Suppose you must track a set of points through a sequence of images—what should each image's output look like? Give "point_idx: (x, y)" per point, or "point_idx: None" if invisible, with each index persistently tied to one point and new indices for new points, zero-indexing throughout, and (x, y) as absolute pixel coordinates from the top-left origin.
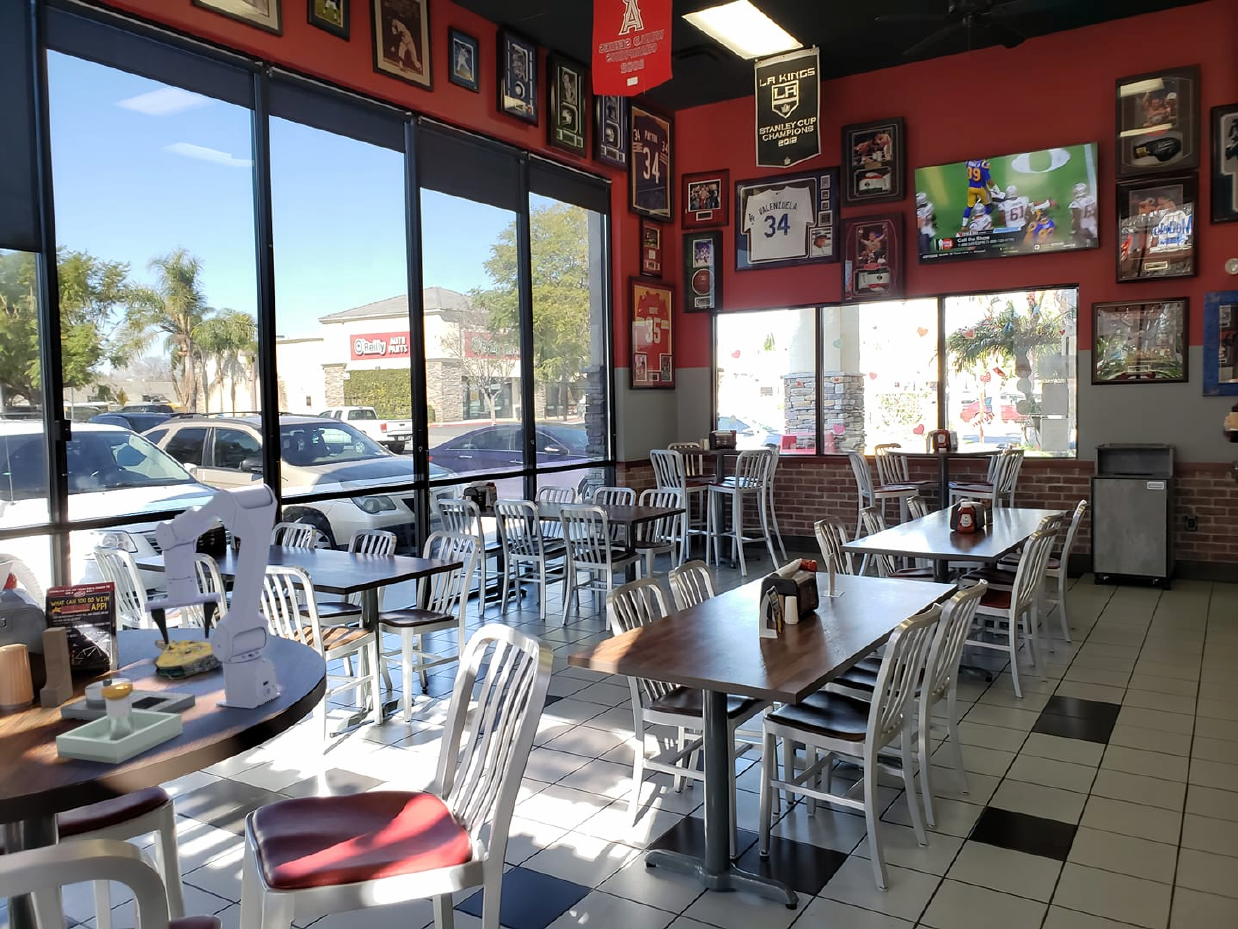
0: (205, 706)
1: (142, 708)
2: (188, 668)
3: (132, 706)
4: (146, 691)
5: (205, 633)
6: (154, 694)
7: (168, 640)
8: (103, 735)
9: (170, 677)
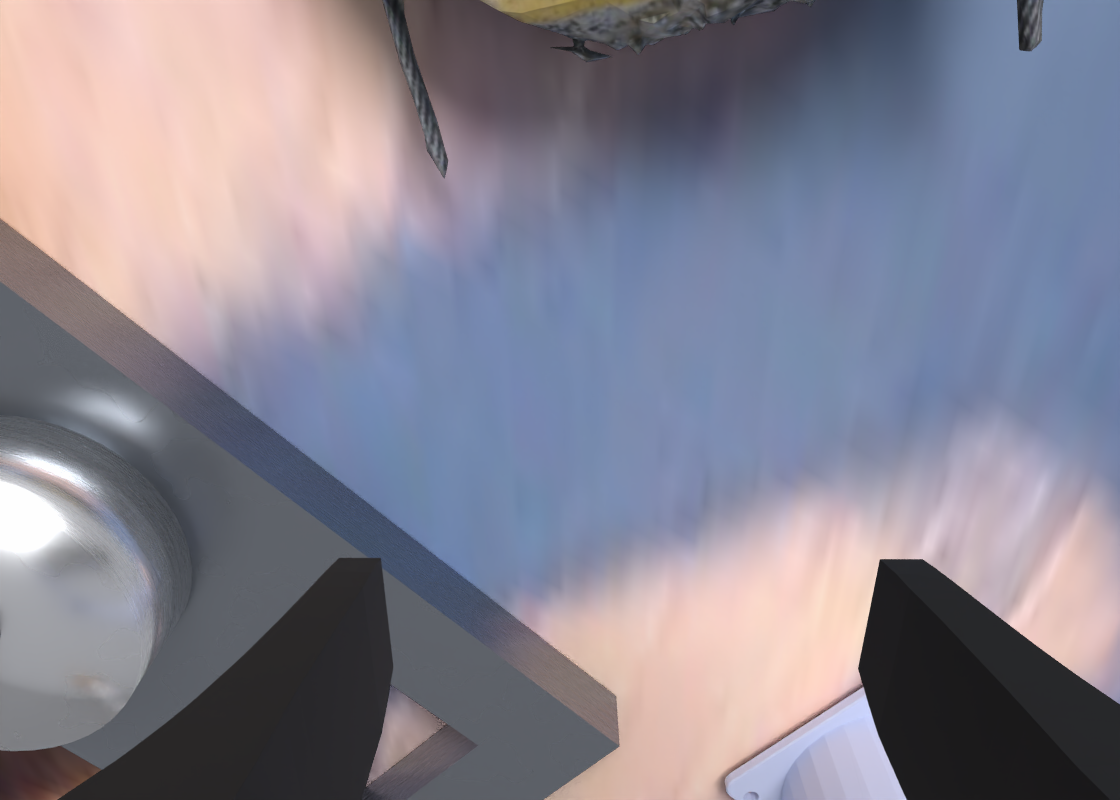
0: (667, 748)
1: None
2: (588, 36)
3: None
4: (281, 513)
5: (891, 747)
6: None
7: (380, 647)
8: None
9: (416, 102)
